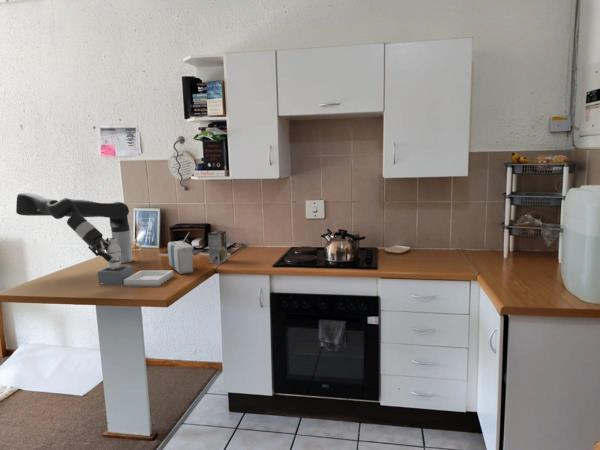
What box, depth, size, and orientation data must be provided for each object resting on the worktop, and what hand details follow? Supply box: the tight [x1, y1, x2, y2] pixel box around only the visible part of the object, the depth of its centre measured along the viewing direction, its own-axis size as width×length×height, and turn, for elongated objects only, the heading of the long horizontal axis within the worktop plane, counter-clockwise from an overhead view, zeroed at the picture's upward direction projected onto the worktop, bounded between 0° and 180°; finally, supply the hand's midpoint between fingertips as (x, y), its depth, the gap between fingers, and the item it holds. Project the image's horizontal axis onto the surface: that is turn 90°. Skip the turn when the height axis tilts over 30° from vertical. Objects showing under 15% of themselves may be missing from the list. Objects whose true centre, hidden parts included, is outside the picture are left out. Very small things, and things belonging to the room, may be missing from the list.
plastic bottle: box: [105, 237, 122, 271], centre depth 196 cm, size 6×7×20 cm
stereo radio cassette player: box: [167, 231, 194, 275], centre depth 214 cm, size 21×8×20 cm, turn 29°
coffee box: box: [207, 230, 228, 265], centre depth 230 cm, size 9×6×16 cm
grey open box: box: [97, 265, 134, 285], centre depth 197 cm, size 11×10×6 cm
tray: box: [123, 269, 174, 287], centre depth 195 cm, size 16×16×3 cm
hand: (114, 257), depth 195 cm, fingers open, 8 cm apart
